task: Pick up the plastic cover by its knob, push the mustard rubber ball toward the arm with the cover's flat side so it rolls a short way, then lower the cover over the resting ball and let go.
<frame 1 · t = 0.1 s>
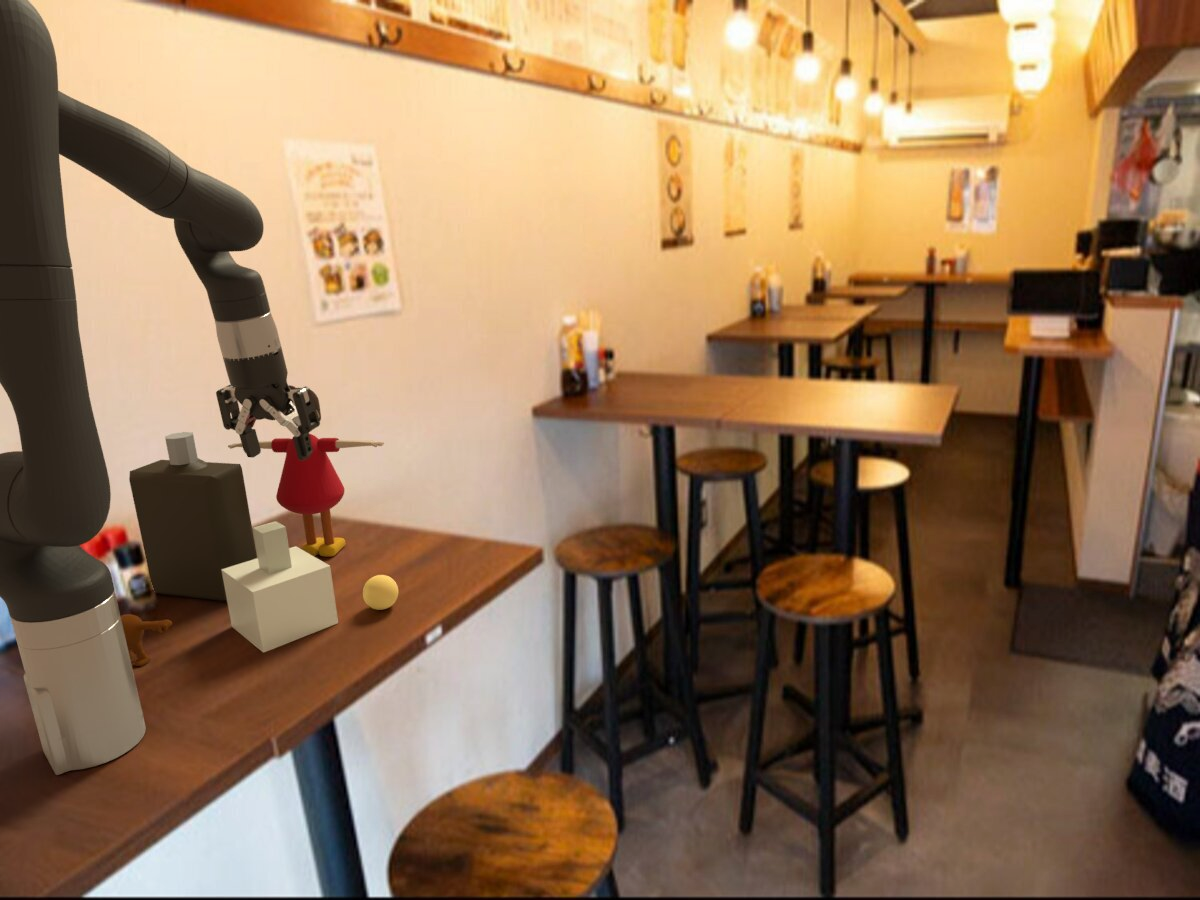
hand: (279, 456, 115), 22 cm above the table, tool pointing down, fingers open, 8 cm apart
bottle: (208, 590, 125), on the table
toy figurine: (134, 664, 104), on the table
ball: (380, 592, 116), on the table
toy: (319, 556, 137), on the table
cover: (285, 624, 113), on the table
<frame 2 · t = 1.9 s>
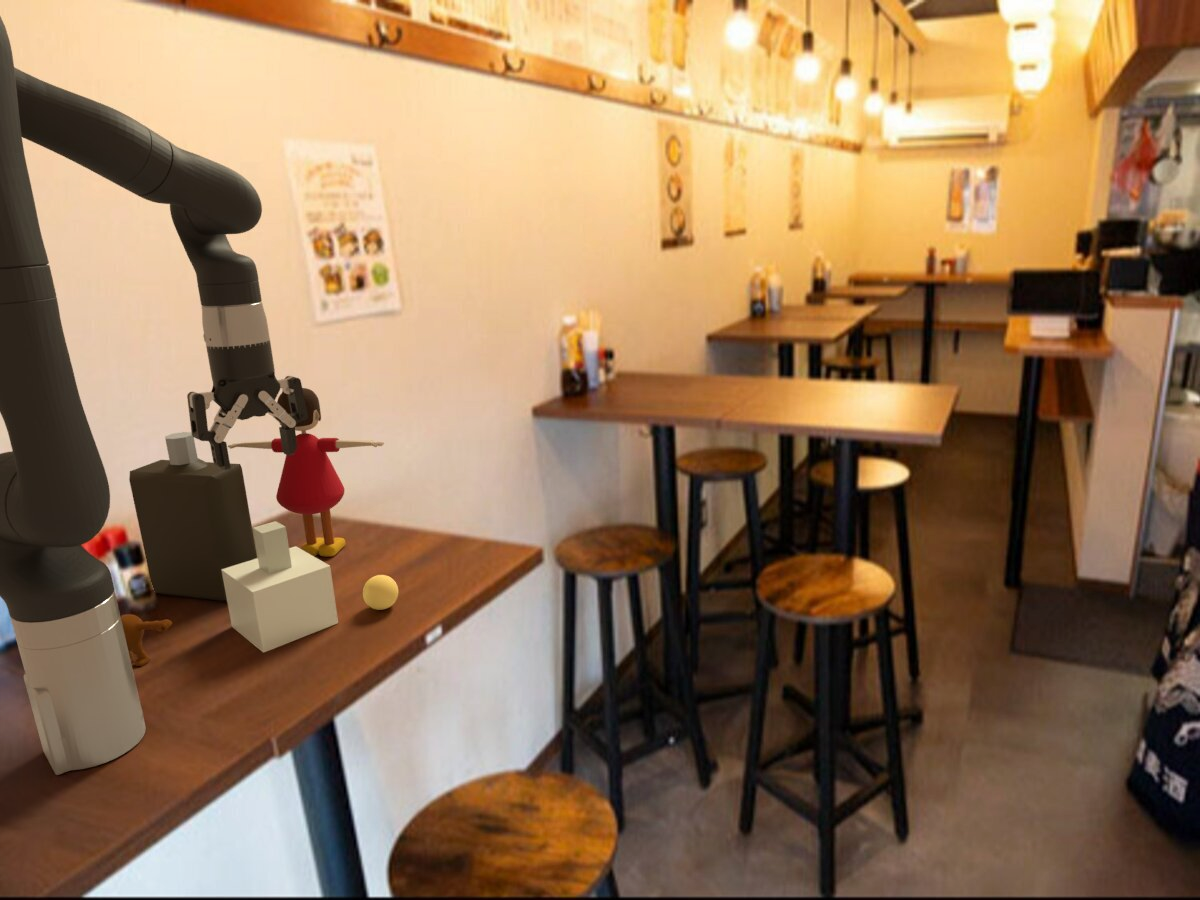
hand: (258, 461, 106), 24 cm above the table, tool pointing down, fingers open, 8 cm apart
nothing on the table moved.
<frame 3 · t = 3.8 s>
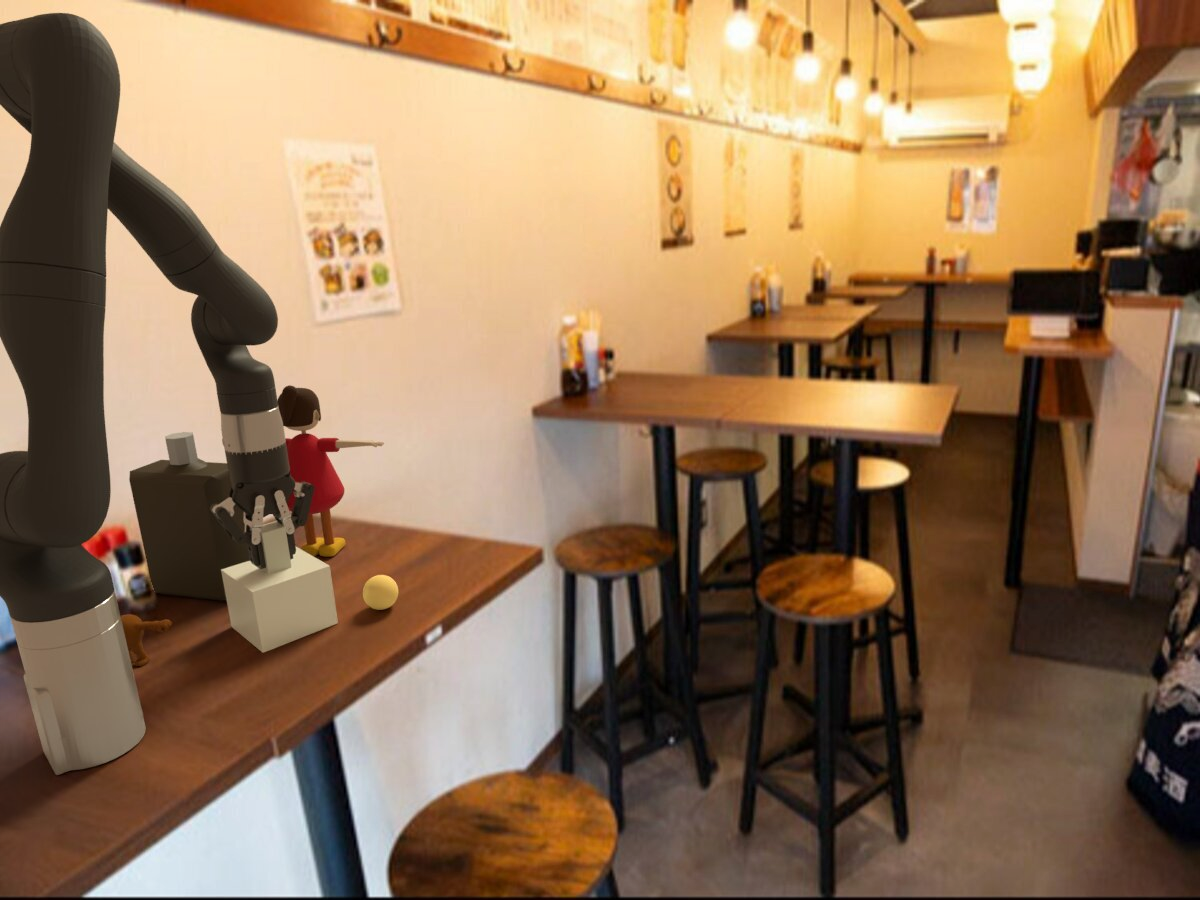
hand: (274, 562, 110), 10 cm above the table, tool pointing down, fingers closed on cover, 3 cm apart
cover: (284, 625, 113), on the table, touching gripper
everything else where it was.
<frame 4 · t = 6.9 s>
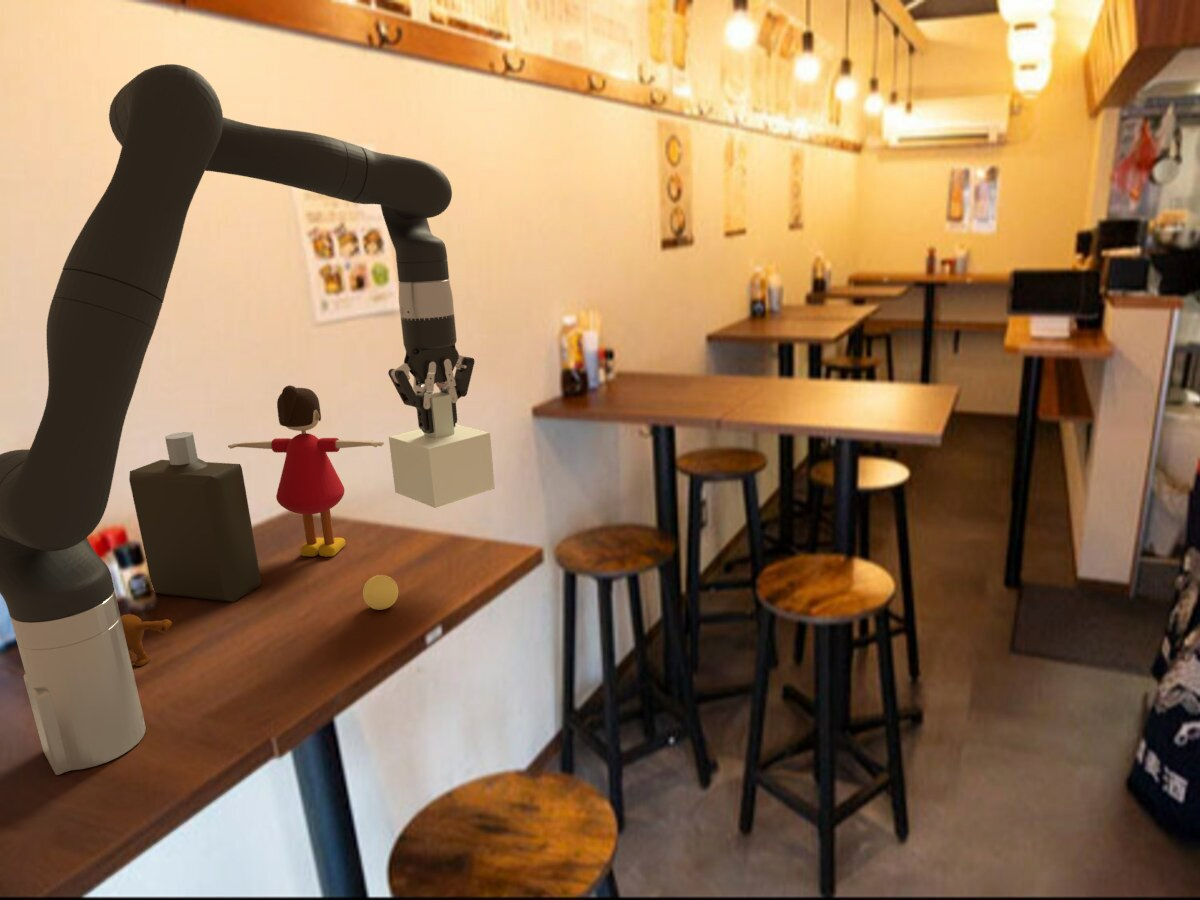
hand: (439, 429, 119), 24 cm above the table, tool pointing down, fingers closed on cover, 3 cm apart
cover: (444, 490, 121), point 15 cm above the table, touching gripper
everything else where it was.
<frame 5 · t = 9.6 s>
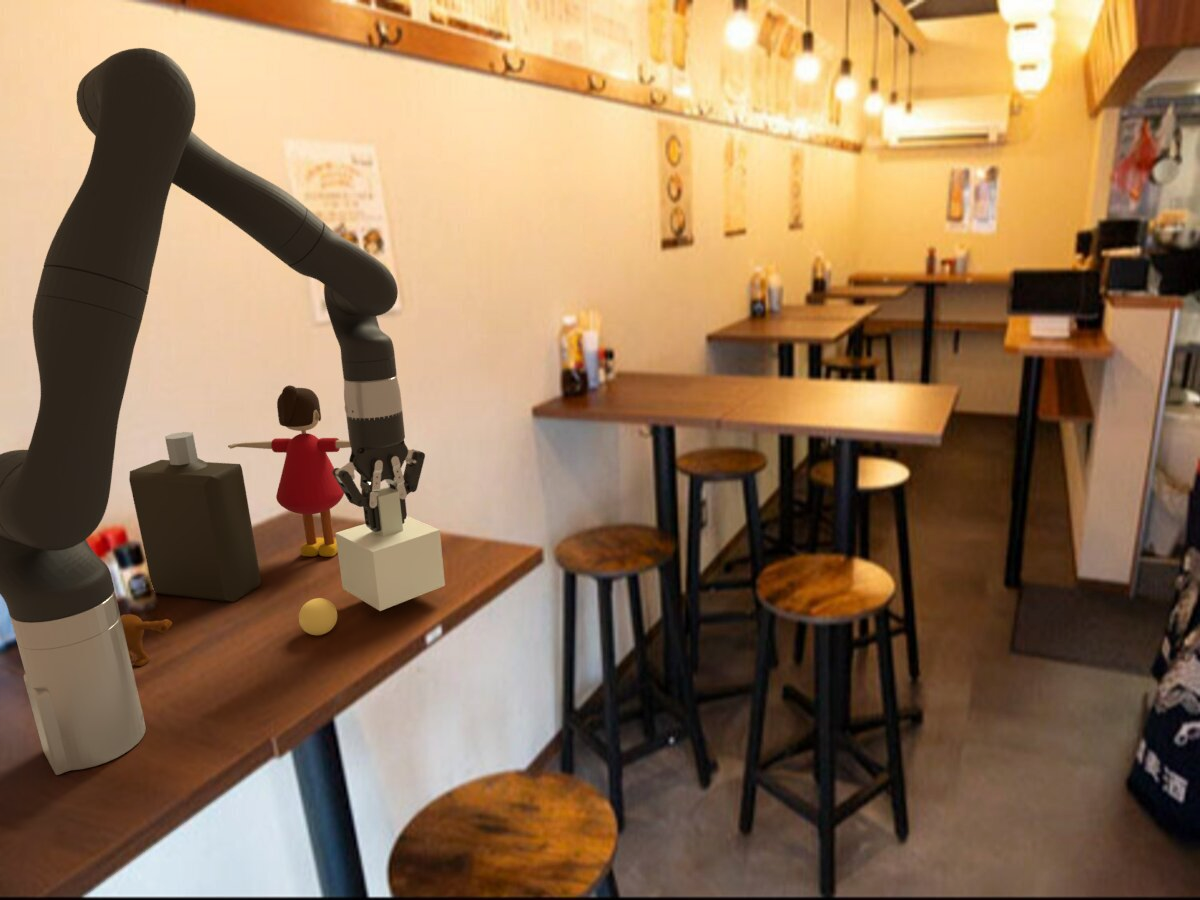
hand: (387, 526, 115), 12 cm above the table, tool pointing down, fingers closed on cover, 3 cm apart
ball: (318, 616, 110), on the table
cover: (393, 587, 118), point 3 cm above the table, touching gripper
everything else where it was.
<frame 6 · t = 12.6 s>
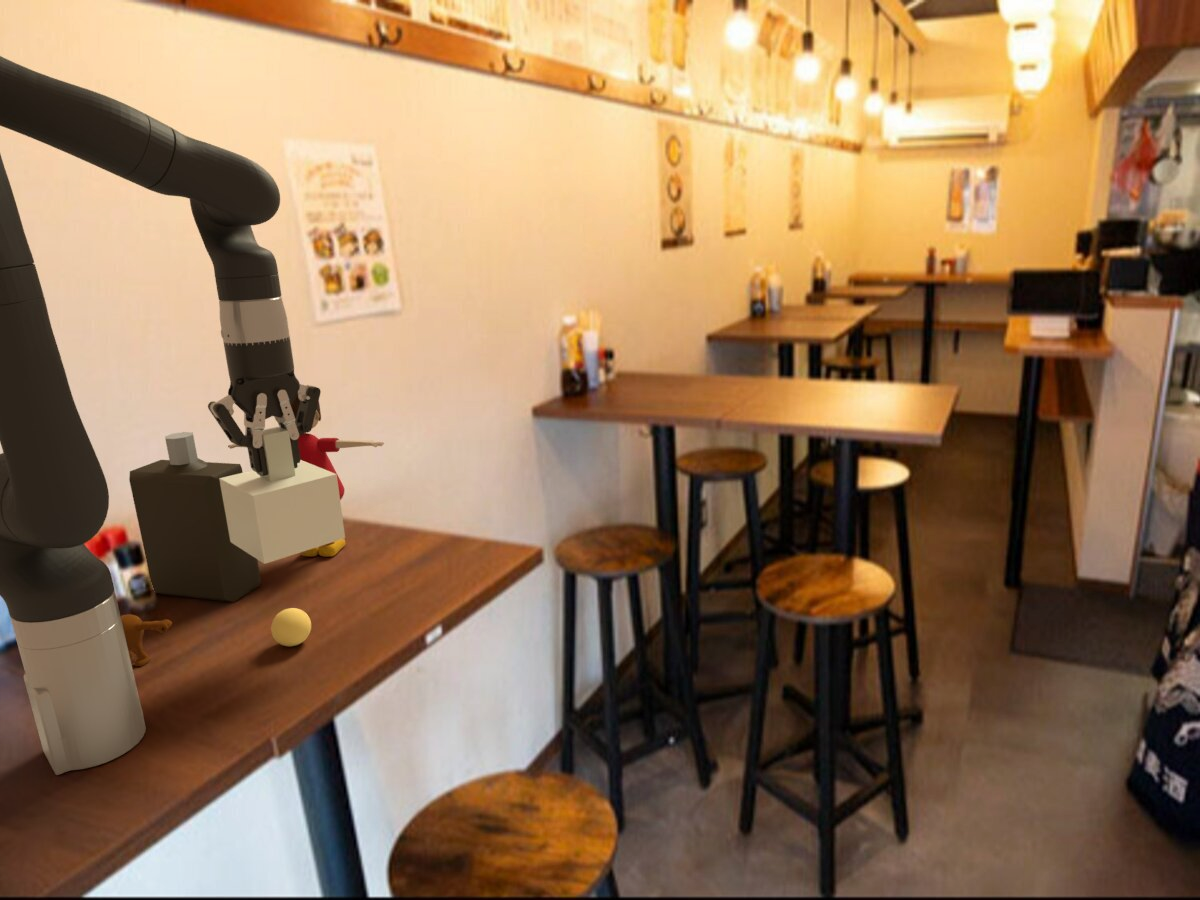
hand: (277, 470, 102), 24 cm above the table, tool pointing down, fingers closed on cover, 3 cm apart
ball: (291, 627, 107), on the table
cover: (287, 540, 105), point 15 cm above the table, touching gripper
everything else where it was.
when the fingers open (10 cm above the table, at t = 15.3 s): cover stays where it is, on the table.
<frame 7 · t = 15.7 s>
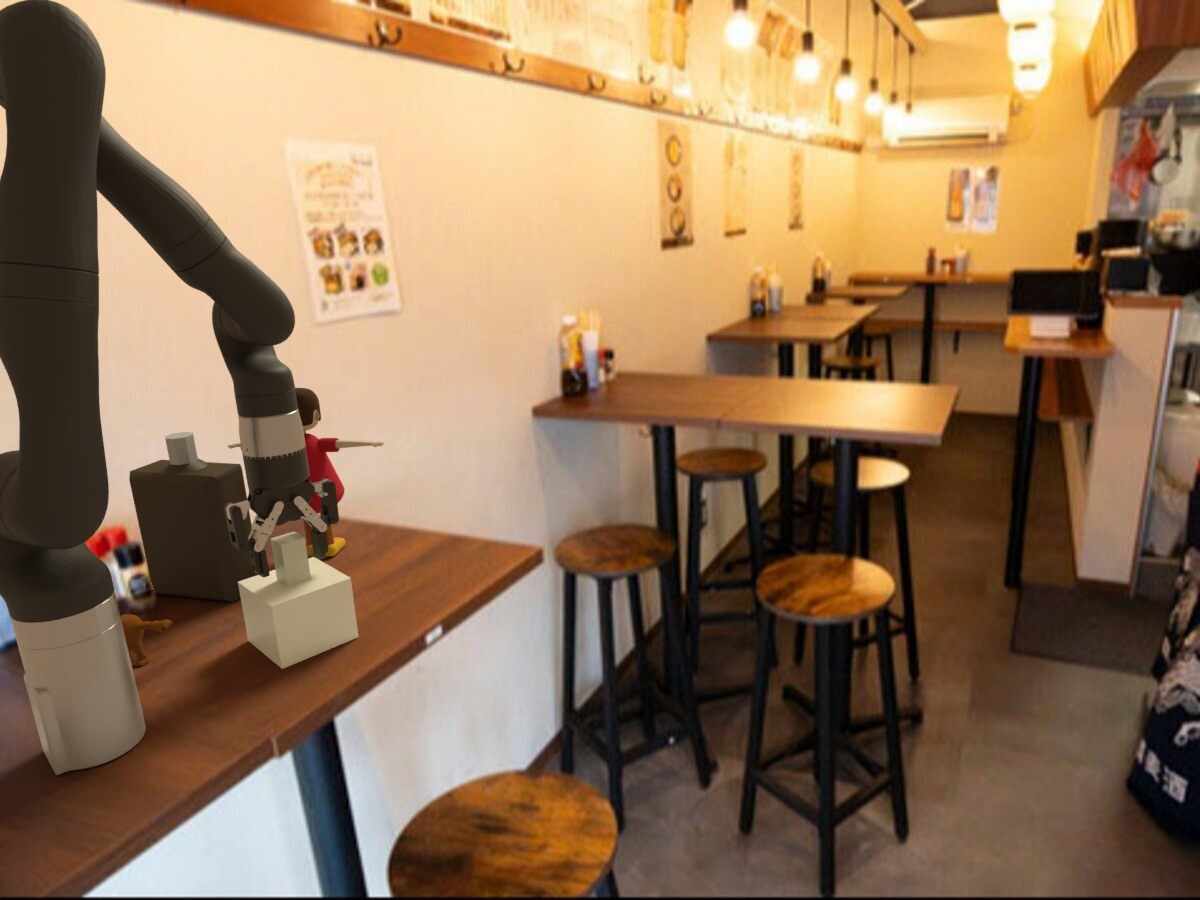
hand: (292, 565, 106), 11 cm above the table, tool pointing down, fingers open, 7 cm apart
cover: (303, 638, 109), on the table
everything else where it was.
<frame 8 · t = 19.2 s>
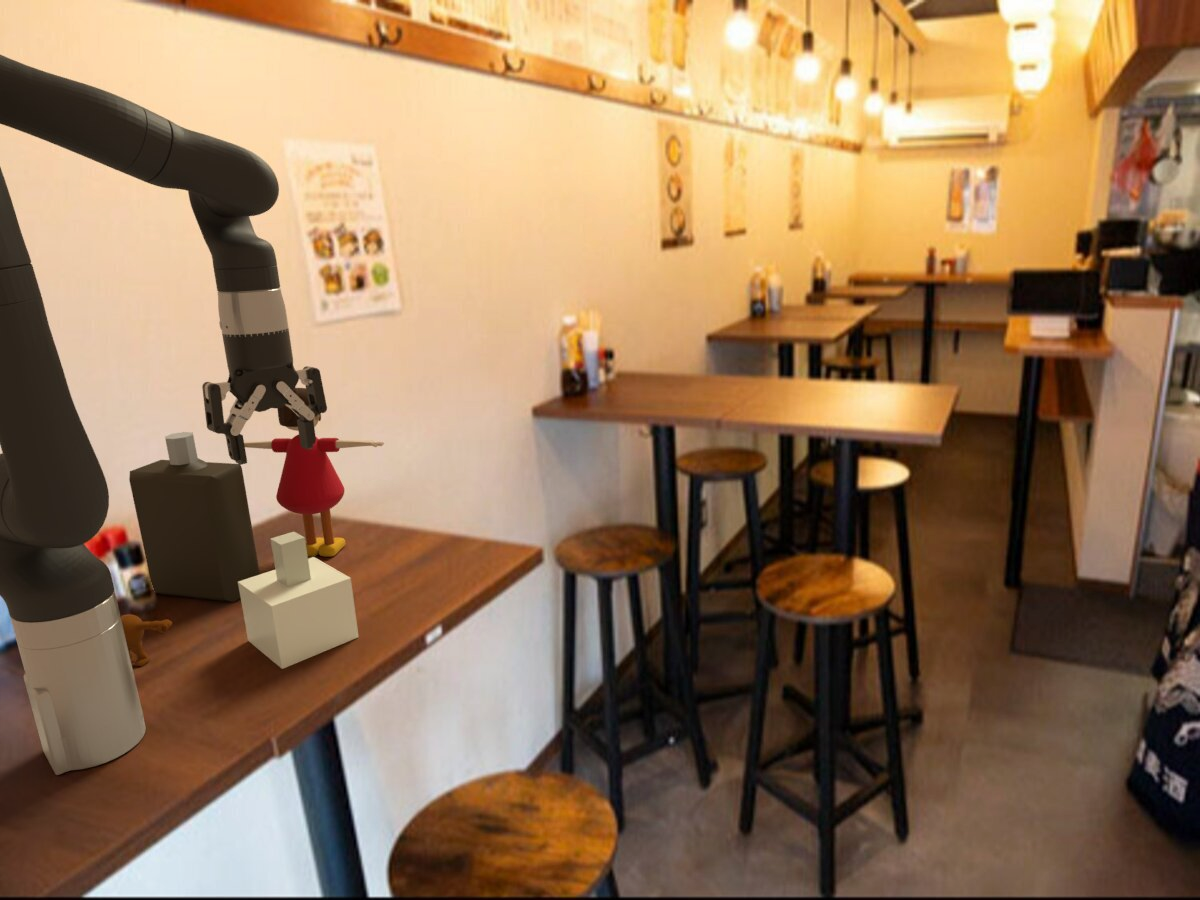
hand: (275, 455, 102), 26 cm above the table, tool pointing down, fingers open, 8 cm apart
nothing on the table moved.
at the end: ball 1.5 cm from the cover (horizontally); cover on the table; ball moved 13.5 cm from its start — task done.
